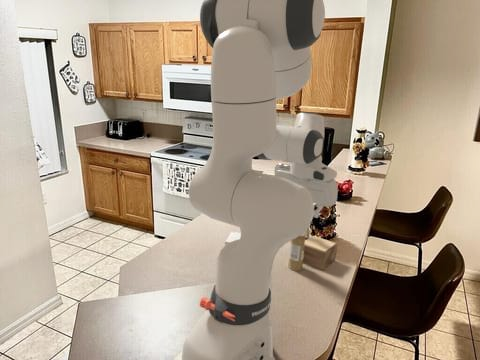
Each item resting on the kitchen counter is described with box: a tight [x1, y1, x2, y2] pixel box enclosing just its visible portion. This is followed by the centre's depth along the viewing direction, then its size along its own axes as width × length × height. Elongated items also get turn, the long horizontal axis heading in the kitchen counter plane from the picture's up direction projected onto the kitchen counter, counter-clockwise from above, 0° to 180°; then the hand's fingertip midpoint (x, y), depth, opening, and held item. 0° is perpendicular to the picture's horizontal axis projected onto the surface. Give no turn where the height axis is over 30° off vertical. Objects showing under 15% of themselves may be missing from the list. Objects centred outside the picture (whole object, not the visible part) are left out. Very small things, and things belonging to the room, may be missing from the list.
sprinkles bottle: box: [287, 228, 308, 271], centre depth 112 cm, size 5×5×14 cm
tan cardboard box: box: [303, 235, 338, 271], centre depth 118 cm, size 9×9×6 cm
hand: (301, 212), depth 109 cm, fingers open, 8 cm apart
